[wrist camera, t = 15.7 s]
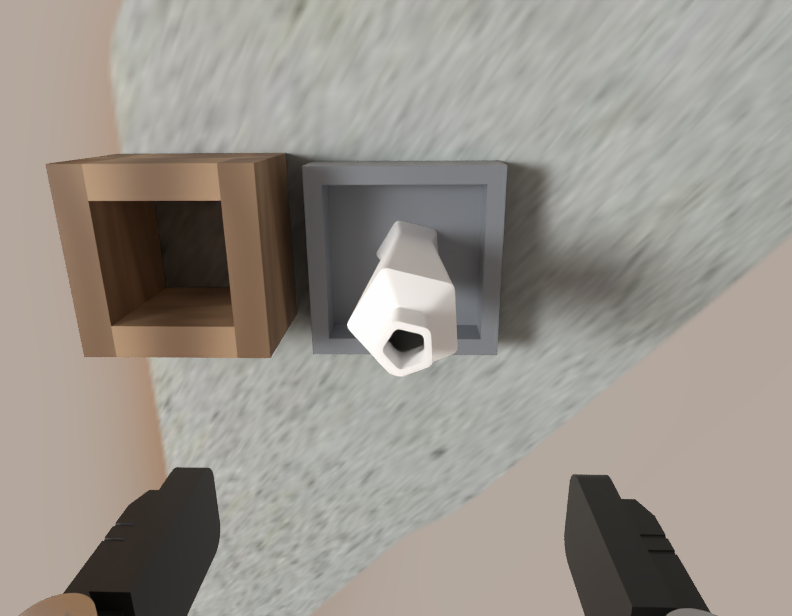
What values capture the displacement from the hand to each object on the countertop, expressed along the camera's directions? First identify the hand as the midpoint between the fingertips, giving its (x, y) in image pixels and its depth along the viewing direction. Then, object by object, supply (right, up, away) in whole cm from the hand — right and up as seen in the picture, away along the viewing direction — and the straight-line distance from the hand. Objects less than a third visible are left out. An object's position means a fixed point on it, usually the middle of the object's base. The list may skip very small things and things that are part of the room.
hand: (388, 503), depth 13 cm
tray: (+1, +8, +22) cm, 24 cm away
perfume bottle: (+1, +8, +22) cm, 23 cm away
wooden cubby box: (-11, +9, +22) cm, 27 cm away
